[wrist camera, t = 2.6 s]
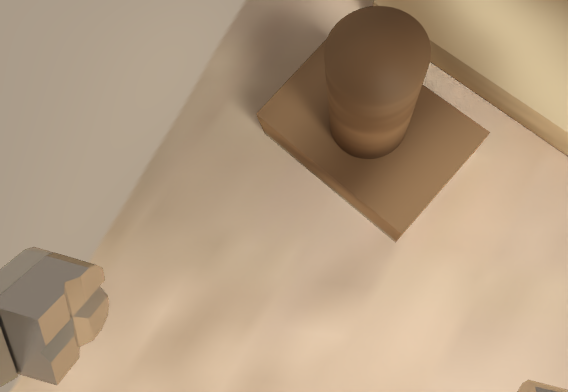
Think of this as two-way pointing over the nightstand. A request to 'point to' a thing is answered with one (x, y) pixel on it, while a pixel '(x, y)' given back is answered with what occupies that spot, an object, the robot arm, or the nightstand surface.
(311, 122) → the wooden stamp
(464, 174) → the nightstand surface
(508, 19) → the board
